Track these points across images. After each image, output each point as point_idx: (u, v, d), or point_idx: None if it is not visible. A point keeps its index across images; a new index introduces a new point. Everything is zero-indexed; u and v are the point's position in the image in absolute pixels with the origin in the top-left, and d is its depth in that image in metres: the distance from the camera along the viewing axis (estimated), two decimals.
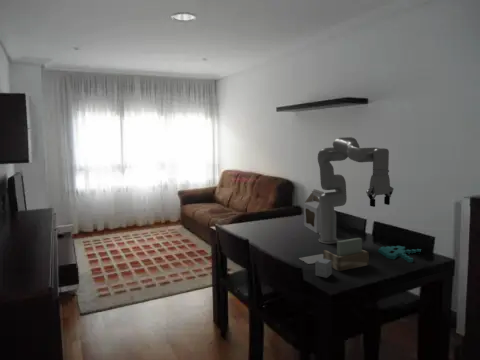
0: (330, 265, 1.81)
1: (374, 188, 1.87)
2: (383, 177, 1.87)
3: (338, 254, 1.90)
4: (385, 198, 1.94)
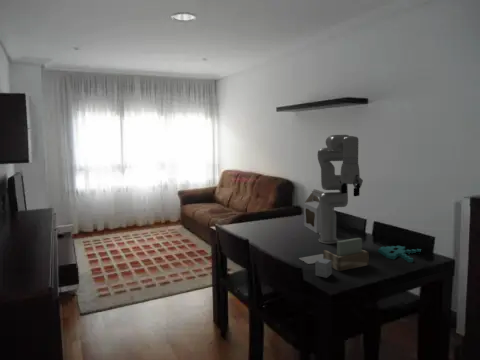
0: (330, 265, 1.81)
1: None
2: None
3: (338, 254, 1.90)
4: (343, 187, 1.92)
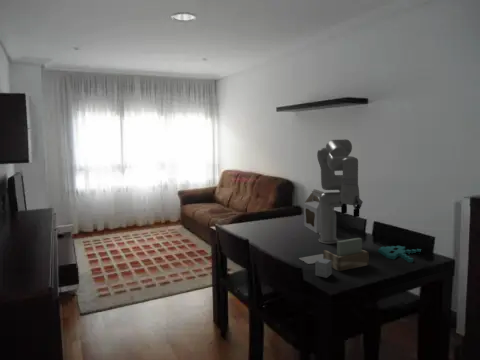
0: (330, 265, 1.81)
1: (358, 197, 1.84)
2: None
3: (338, 254, 1.90)
4: (343, 207, 1.93)
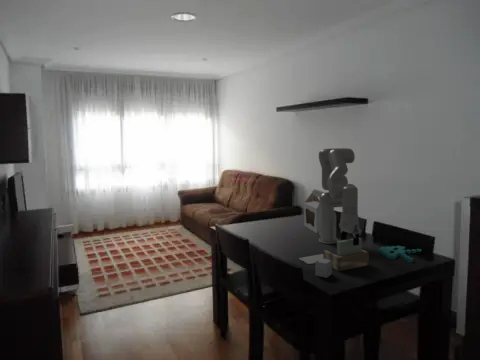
0: (330, 265, 1.81)
1: (358, 226, 1.86)
2: None
3: (338, 254, 1.90)
4: (343, 235, 1.95)
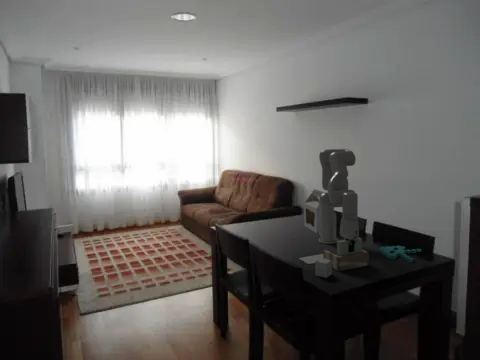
0: (330, 265, 1.81)
1: (358, 232, 1.87)
2: None
3: (338, 254, 1.90)
4: None
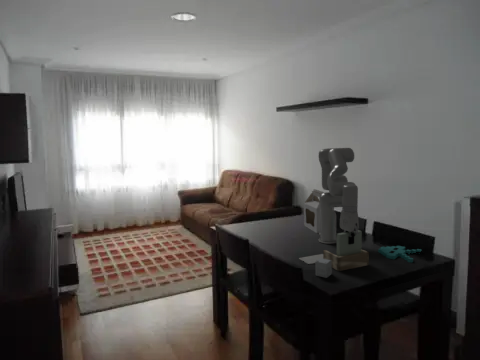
0: (330, 265, 1.81)
1: (357, 225, 1.87)
2: None
3: (338, 246, 1.90)
4: None
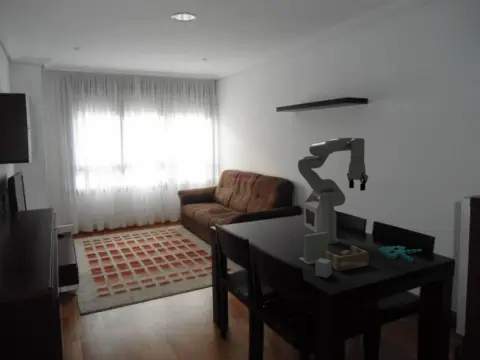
0: (330, 265, 1.81)
1: None
2: None
3: (304, 247, 2.01)
4: (351, 183, 2.17)
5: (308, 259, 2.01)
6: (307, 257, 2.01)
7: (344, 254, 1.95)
